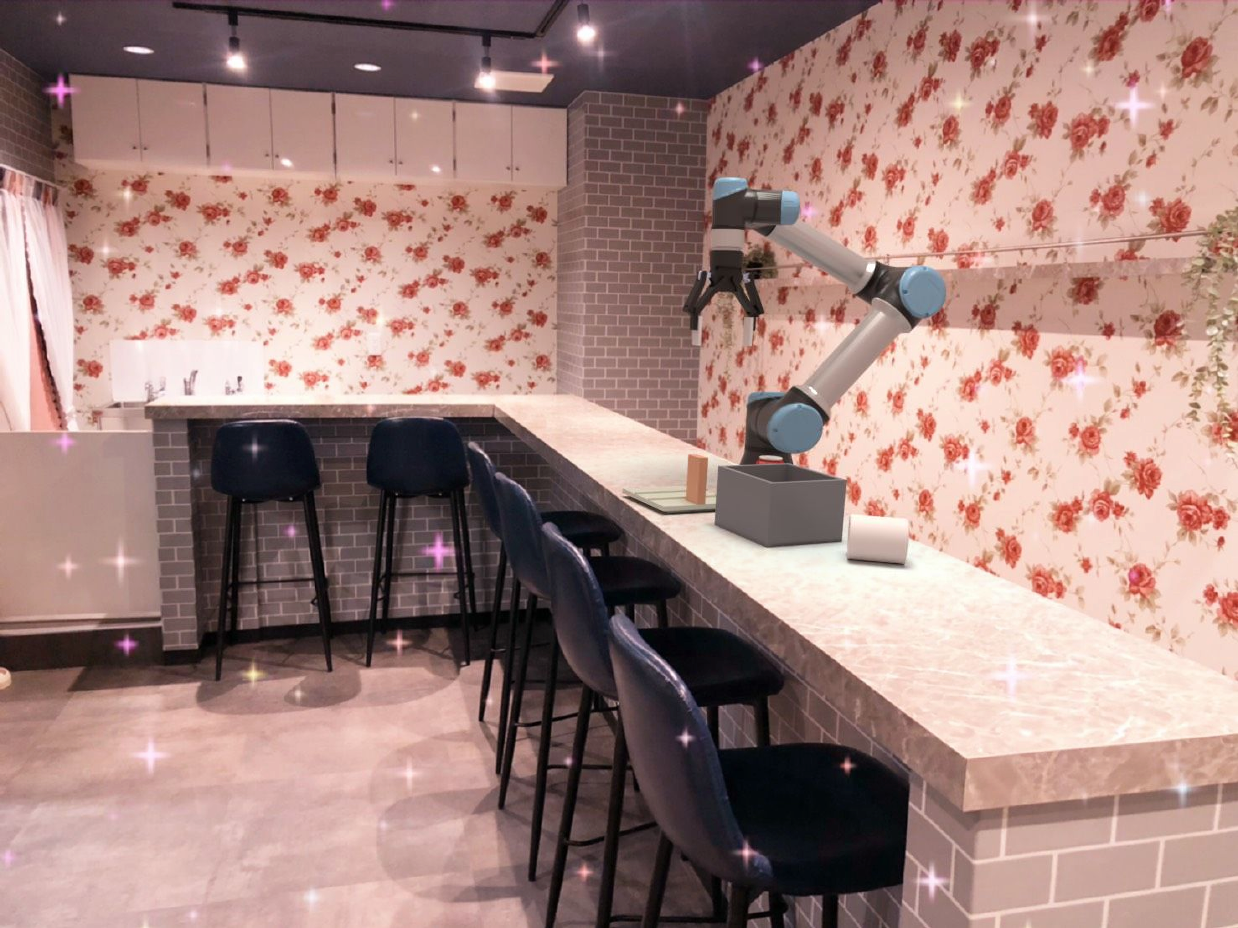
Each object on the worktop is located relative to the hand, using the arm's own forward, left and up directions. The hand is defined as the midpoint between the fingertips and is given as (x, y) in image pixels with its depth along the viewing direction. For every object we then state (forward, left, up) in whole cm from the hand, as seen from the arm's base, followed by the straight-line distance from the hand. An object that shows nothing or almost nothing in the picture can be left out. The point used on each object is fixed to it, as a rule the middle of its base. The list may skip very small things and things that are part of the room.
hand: (722, 345), depth 224 cm
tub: (+7, +36, -35) cm, 51 cm away
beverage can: (-2, +19, -35) cm, 40 cm away
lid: (+13, +7, -35) cm, 38 cm away
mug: (0, +58, -35) cm, 67 cm away
